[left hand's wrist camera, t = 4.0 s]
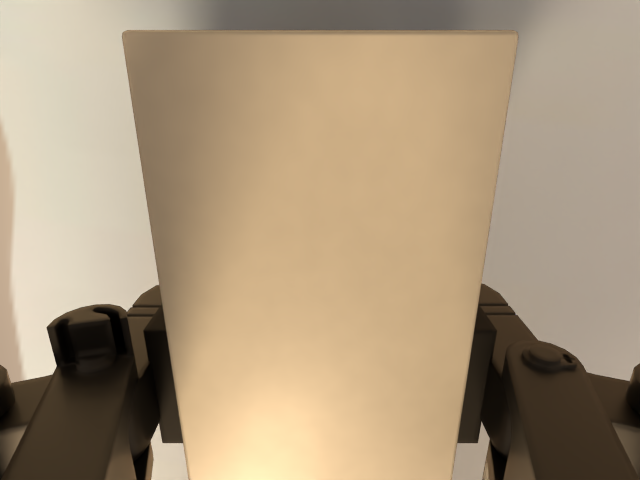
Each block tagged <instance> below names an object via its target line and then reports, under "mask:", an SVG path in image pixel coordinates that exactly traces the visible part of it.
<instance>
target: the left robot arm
mask: <svg viewBox="0 0 640 480" xmlns="http://www.w3.org/2000/svg"><path fill="white" fill-rule="evenodd" d="M47 331H48V334H49V338H50V342H51V346H52V349H53V353H54V357H55V361H56V364H57V367H56V369H55V371H54V373H53V375H49V376H45V377H40V378H35V379H30V380H25V381H20V382H14V383H11V381H10V378H9V375H8V372H7V370H6V369H5V368H4V367H3V366H1V365H0V480H151V475H152V467H153V452H152V446H151V439H152V436H153V434H154V432H155V430H156V428H157V426H158V424H159V425H160V431H161V437H162V442H163V443H183V438H182V431H181V425H180V418H179V411H178V405H177V398H176V391H175V385H174V378H173V371H172V365H171V358H170V352H169V345H168V338H167V332H166V325H165V318H164V312H163V305H162V298H161V292H160V285H156V286H155V287H153V288H151V289H150V290H148V291H146V292H145V293H143V294H142V295H141V296H140V297H139V298H138V299H137V301H136V302H135V303H134V304H133V307H132V308H130V309H129V310H128V312H126V310H124V309H123V308H122V307H120V306H116V305H111V304H99V305H91V306H86V307H81V308H78V309H75V310H73V311H70V312H67V313H65V314H63V315H61V316H60V317H58V318H56V319H54V320H53V321H52V322H51V323H50V324H49V325H48V327H47ZM481 421H482V423H483V425H484V427H485V429H486V431H487V434H488V436H489V438H490V441H489V446H488V452H487V457H486V462H485V468H484V473H483V479H482V480H640V364H638V365H637V366H636V367H634V370H633V373H632V376H631V379H630V381H625V380H620V379H615V378H610V377H605V376H600V375H595V374H591V373H587V372H586V370H585V368H584V366H583V365H582V364H581V362H580V361H579V360H578V359H577V358H576V357H575V356H574V355H572V354H571V353H569V352H568V351H566V350H565V349H563V348H560V347H558V346H556V345H553V344H551V343H546V342H542V341H538V340H537V339H536V337H535V336H534V335H533V334H532V332H531V331H530V330H529V329H528V328H527V326H526V325H525V324H524V323H523V322H522V320H521V319H520V318H519V317H518V315H515V312H514V311H513V309H512V308H511V307H510V306H508V303H507V302H506V301H505V300H504V298H503V297H502V296H501V295H500V294H499V293H498V292H496V291H495V290H493V289H491V288H490V287H488V286H486V285H485V284H481V288H480V295H479V301H478V308H477V314H476V321H475V328H474V334H473V341H472V347H471V354H470V361H469V367H468V374H467V381H466V387H465V394H464V401H463V407H462V414H461V420H460V427H459V434H458V440H457V443H478V438H479V433H480V427H481Z"/></svg>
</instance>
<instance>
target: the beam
mask: <svg viewBox="0 0 640 480" xmlns="http://www.w3.org/2000/svg"><path fill="white" fill-rule="evenodd" d="M122 39H123V46H124V53H125V59H126V66H127V73H128V79H129V86H130V93H131V99H132V106H133V113H134V119H135V126H136V132H137V139H138V146H139V152H140V159H141V166H142V172H143V179H144V186H145V192H146V199H147V205H148V212H149V219H150V225H151V232H152V239H153V245H154V252H155V259H156V265H157V272H158V279H159V285H160V292H161V298H162V305H163V312H164V318H165V325H166V332H167V338H168V345H169V352H170V358H171V365H172V371H173V378H174V385H175V391H176V398H177V405H178V411H179V418H180V425H181V431H182V438H183V445H184V451H185V458H186V464H187V471H188V478H189V480H452V473H453V467H454V460H455V454H456V447H457V440H458V434H459V427H460V420H461V414H462V407H463V401H464V394H465V387H466V381H467V374H468V367H469V361H470V354H471V347H472V341H473V334H474V328H475V321H476V314H477V308H478V301H479V295H480V288H481V281H482V275H483V268H484V261H485V255H486V248H487V241H488V235H489V228H490V222H491V215H492V208H493V202H494V195H495V188H496V182H497V175H498V169H499V162H500V155H501V149H502V142H503V135H504V129H505V122H506V116H507V109H508V102H509V96H510V89H511V82H512V76H513V69H514V63H515V56H516V49H517V43H518V32H516V31H514V30H127V31H125V32H123V34H122Z"/></svg>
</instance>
